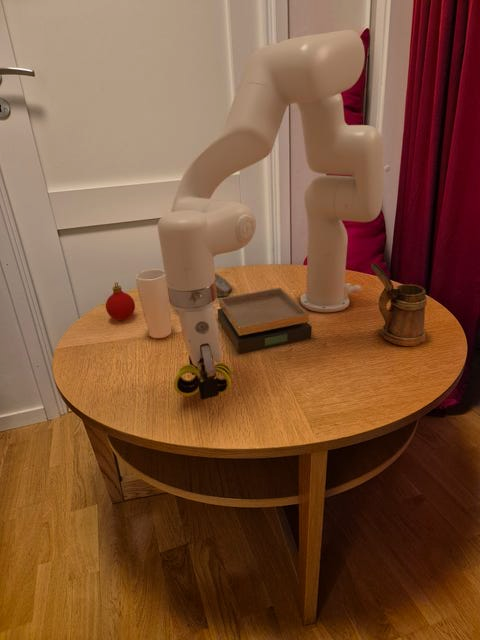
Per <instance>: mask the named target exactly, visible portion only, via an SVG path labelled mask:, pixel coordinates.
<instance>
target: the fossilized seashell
mask: <svg viewBox="0 0 480 640" xmlns="http://www.w3.org/2000/svg"><path fill="white" fill-rule="evenodd" d="M215 280H216V290H217V298H218V297H219V298H224V297H228V295H229V292H231V291H232V289H233V287H232V285H231V284H230V283H229V282H228V280H227V279H225V277H223V276H222V275H219V274H218V273H216V272H215Z"/></svg>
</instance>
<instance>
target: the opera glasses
mask: <svg viewBox="0 0 480 640" xmlns="http://www.w3.org/2000/svg"><path fill="white" fill-rule="evenodd" d="M214 365H215V370H216V373H220V374H221V375H222V376H223V377H224V378H221V377H219V376H217V380H218V388H219V395H220V396H222V395H224V394H226V393H227V392H229V390H230V388H231V385H232V381H231V377H232V375H233V374H232V373H233V372H232V368H231V367H230V366H229V365H228V364H227V363H225V362H217V363H216V364H214ZM189 373H190V374H192V373H194V374H195V375H194V377H193V378H191V379H189V380H187V379H184V378H183V375H185V374H189ZM202 374H203V372H202ZM198 379H199V374H198V371H197V369H196V368H195V367H194V366H193V365H190V364H183V365H182V366H181V367H180V368H179V370H178V372H177V374H176V375H175V377H174V381H173V387H174V390H175V392H176V393H177V394H179V395H180V396H183V397H192V396H194V395H196V394H197V393H199V385H198ZM219 395H218V396H219Z"/></svg>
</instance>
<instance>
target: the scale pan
mask: <svg viewBox="0 0 480 640" xmlns="http://www.w3.org/2000/svg"><path fill="white" fill-rule="evenodd" d="M218 304H219V307H220V309H222V310H223V312H224V313H225V315H226V316H227V318H228V319H229V321H230V322H231V324H232V325H233V327H234V328H235V330H236V332H237V333H238V335H239V336H241V335H246V334H251V333H256V332H261V331H266V330H271V329H276V328H281V327H286V326H291V325H296V324H301V323H306V322H307V323H310V322H309V321H310V313H309V312H308V311H307V310H306V309H304V307H303V306H302V305H301V304H300V303H298V302H297V301H296V300H294V299H293V298H292V296H290V294H288V293H287V292H286V291H285V290H284V289H283V288H282V287H276V288H270V289H265V290H259V291H254V292H248V293H241V294H236V295H231V296H224V297H219V298H218Z"/></svg>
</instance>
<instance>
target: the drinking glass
mask: <svg viewBox="0 0 480 640" xmlns="http://www.w3.org/2000/svg"><path fill="white" fill-rule="evenodd" d="M135 281H136V289H137V293H138V297H139V302H140V304H141V308H142V311H143V316H144V320H145V322H146V327H147V331H148V335H149V336H150V337H151V338H153V339H164V338H166V337H168V336H170V335H171V333H172V331H173V330H172V321H171V320H172V319H171V306H170V301H169V295H168V289H167V282H166V276H165V270H164V269H160V268H159V269H158V268H153V269H152V268H151V269H146V270H143V271H140V272H139V273H137V274H136V275H135Z"/></svg>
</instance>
